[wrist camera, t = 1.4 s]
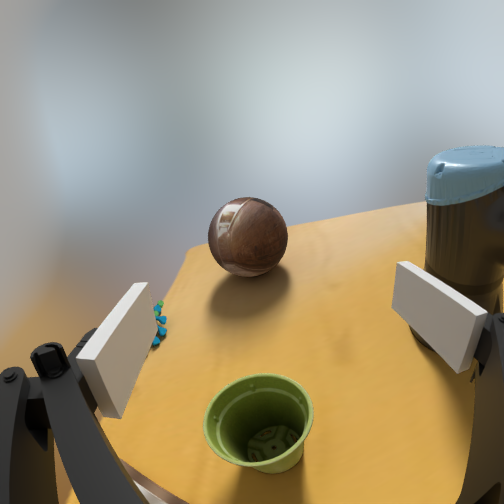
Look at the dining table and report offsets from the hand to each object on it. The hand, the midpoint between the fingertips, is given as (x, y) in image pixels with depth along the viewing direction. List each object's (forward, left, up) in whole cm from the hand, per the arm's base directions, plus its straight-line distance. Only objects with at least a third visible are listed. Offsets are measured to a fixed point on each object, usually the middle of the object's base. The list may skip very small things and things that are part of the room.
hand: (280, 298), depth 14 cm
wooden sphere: (+22, -32, -21) cm, 44 cm away
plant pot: (+4, +1, -21) cm, 22 cm away
